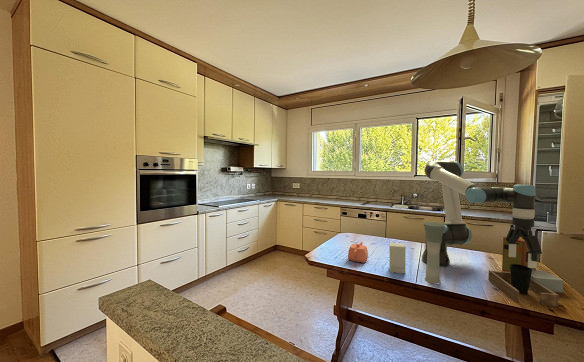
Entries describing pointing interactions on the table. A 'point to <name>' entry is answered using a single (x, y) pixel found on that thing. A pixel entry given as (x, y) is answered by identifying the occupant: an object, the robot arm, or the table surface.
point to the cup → (520, 277)
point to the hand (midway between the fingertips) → (521, 262)
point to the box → (520, 254)
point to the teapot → (358, 253)
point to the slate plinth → (548, 280)
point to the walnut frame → (501, 282)
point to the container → (433, 250)
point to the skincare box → (397, 257)
